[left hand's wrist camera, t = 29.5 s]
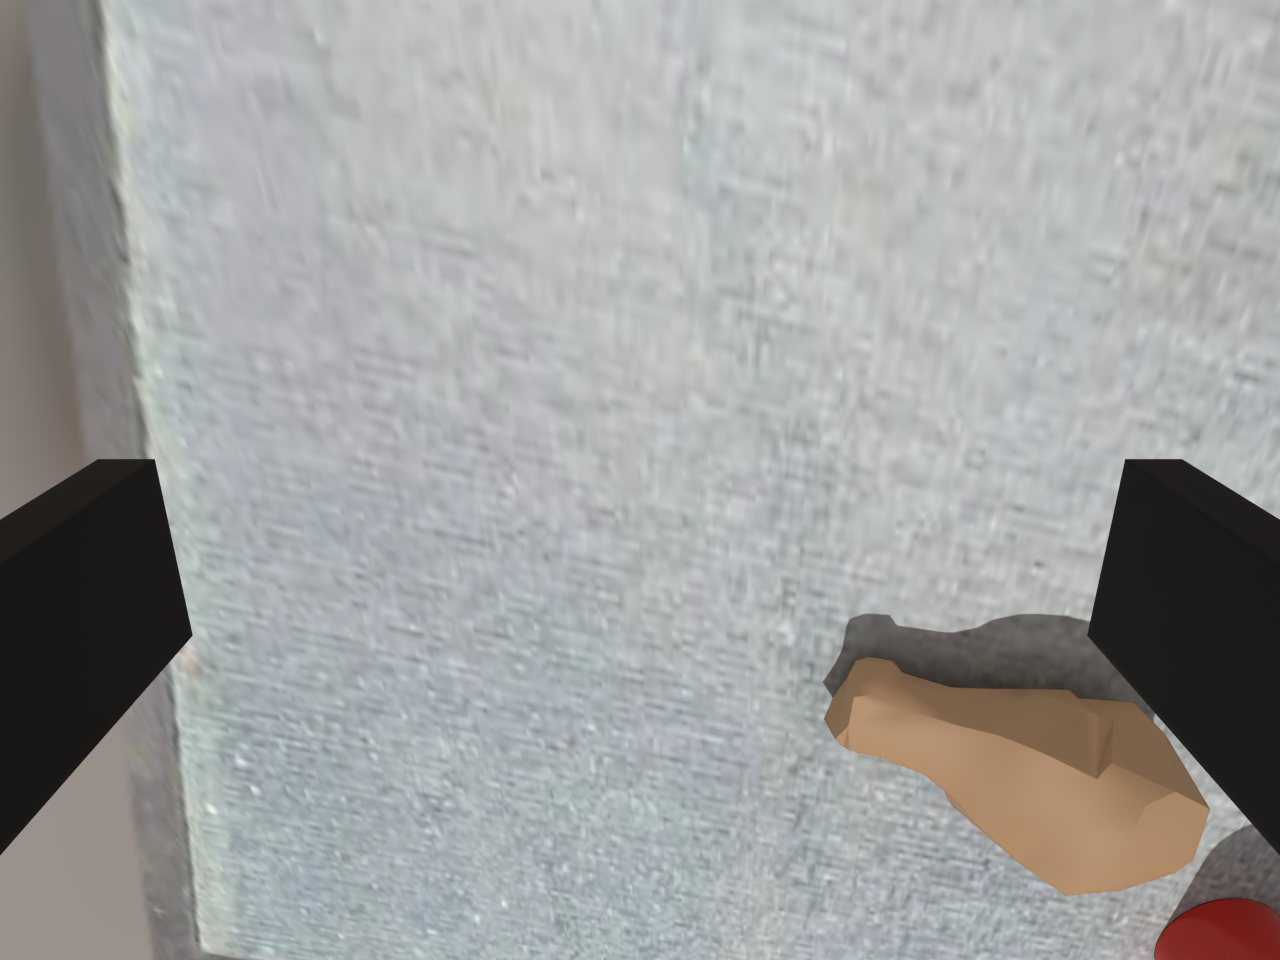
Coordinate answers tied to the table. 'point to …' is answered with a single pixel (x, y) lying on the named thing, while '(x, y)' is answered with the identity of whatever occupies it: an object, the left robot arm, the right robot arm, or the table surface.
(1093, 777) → the squash
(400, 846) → the table surface
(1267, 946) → the tin
